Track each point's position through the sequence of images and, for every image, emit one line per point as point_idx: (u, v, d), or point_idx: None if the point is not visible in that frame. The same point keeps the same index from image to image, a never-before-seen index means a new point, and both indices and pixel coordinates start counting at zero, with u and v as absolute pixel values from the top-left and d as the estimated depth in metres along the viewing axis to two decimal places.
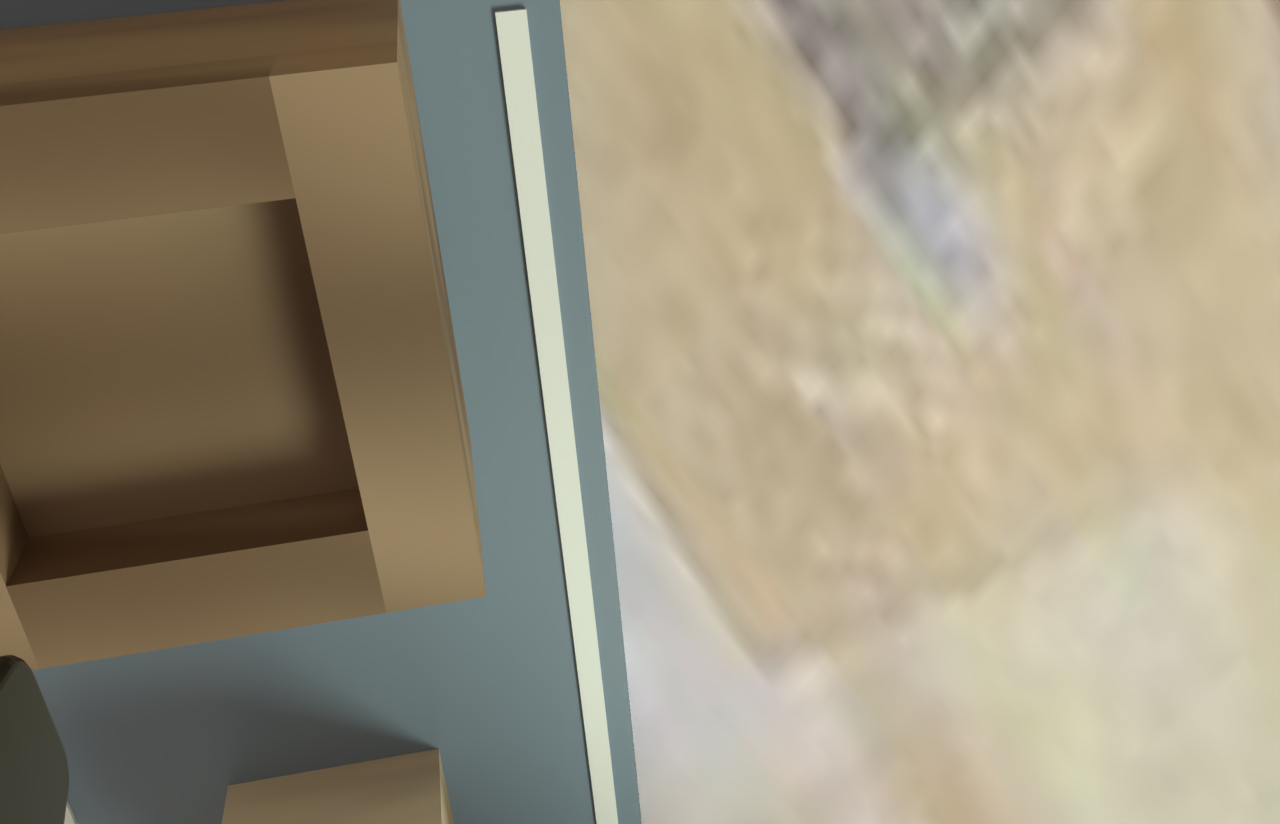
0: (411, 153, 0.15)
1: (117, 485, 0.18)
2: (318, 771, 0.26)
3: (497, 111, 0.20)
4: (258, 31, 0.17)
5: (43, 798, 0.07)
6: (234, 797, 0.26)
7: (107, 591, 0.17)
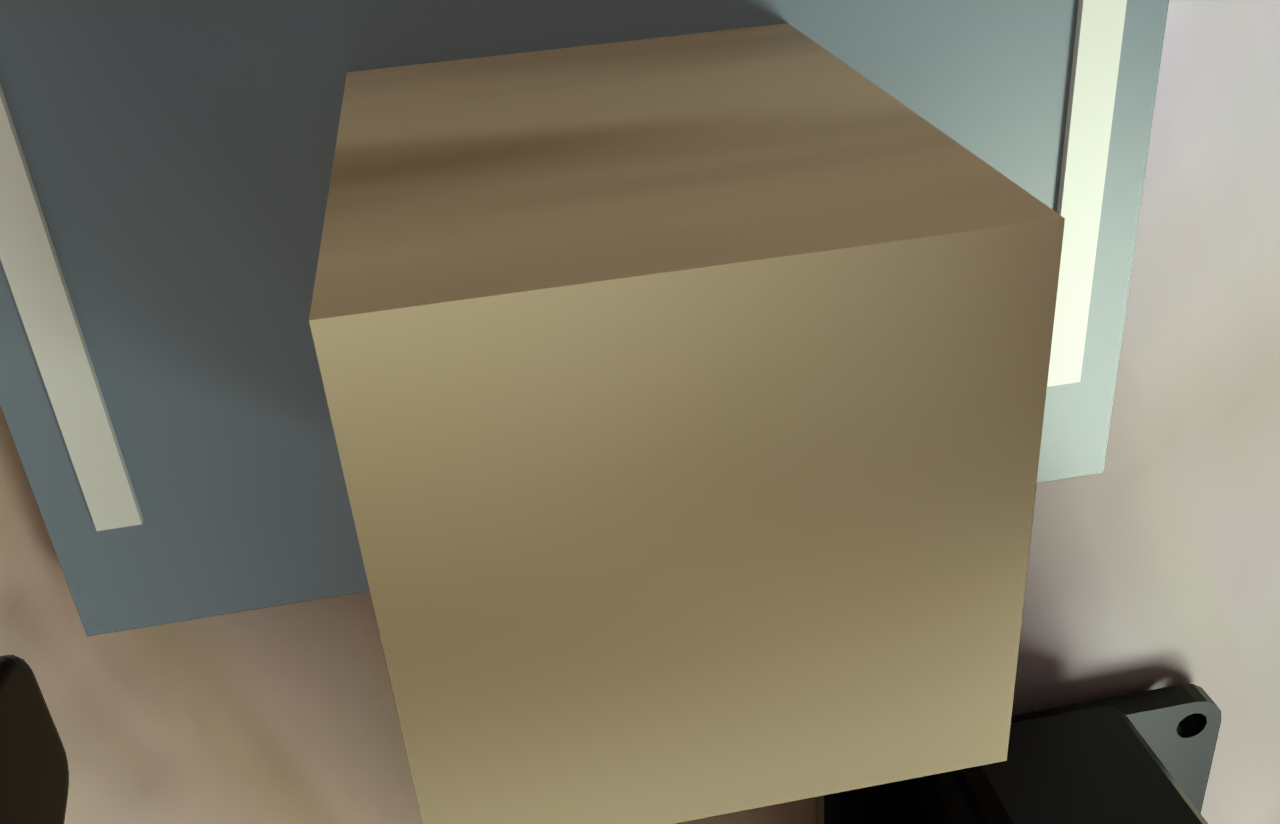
0: None
1: None
2: (539, 52, 0.12)
3: None
4: None
5: (43, 798, 0.07)
6: (364, 79, 0.12)
7: None
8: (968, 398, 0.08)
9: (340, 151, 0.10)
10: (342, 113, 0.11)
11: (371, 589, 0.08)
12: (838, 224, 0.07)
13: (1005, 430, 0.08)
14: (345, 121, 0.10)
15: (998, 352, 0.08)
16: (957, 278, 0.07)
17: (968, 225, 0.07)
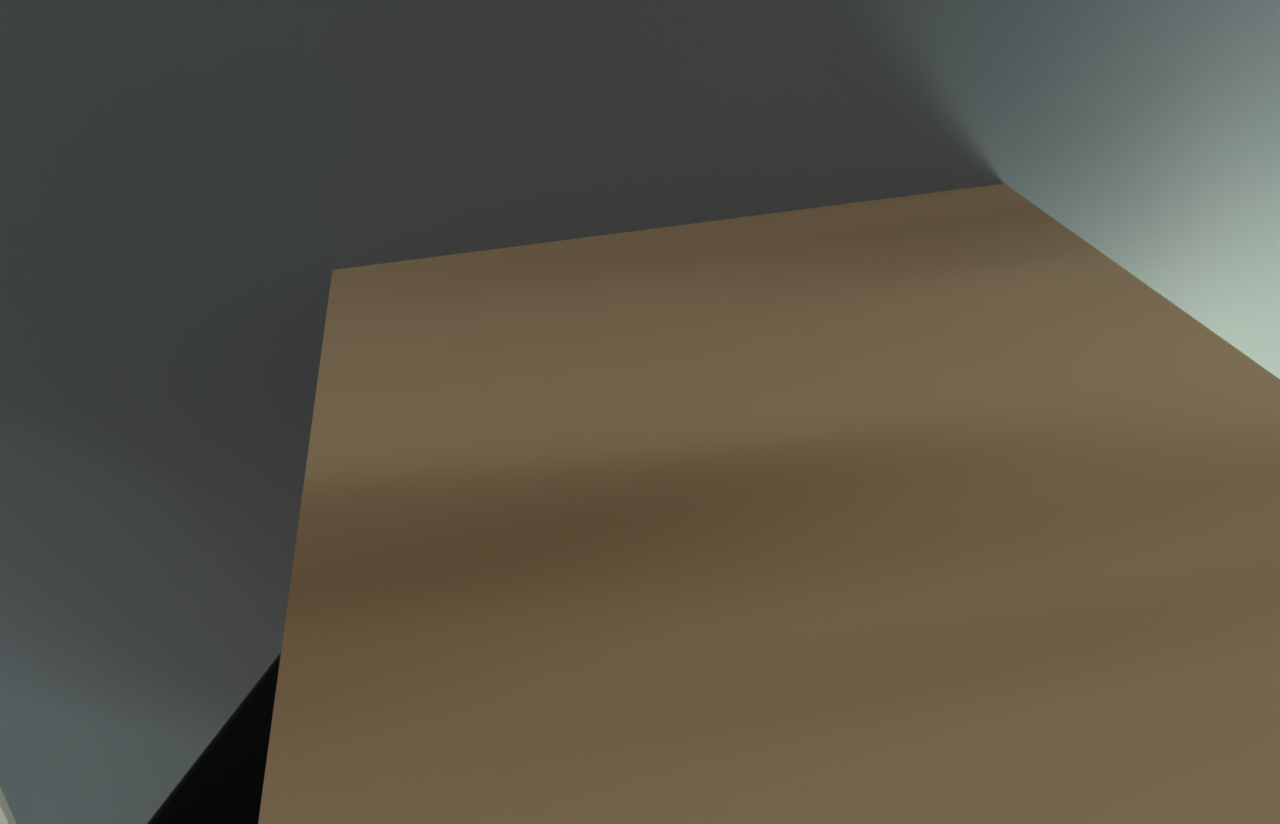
0: None
1: None
2: (629, 235, 0.08)
3: None
4: None
5: None
6: (359, 290, 0.07)
7: None
8: None
9: (311, 498, 0.05)
10: (320, 380, 0.06)
11: None
12: None
13: None
14: (324, 403, 0.06)
15: None
16: None
17: None
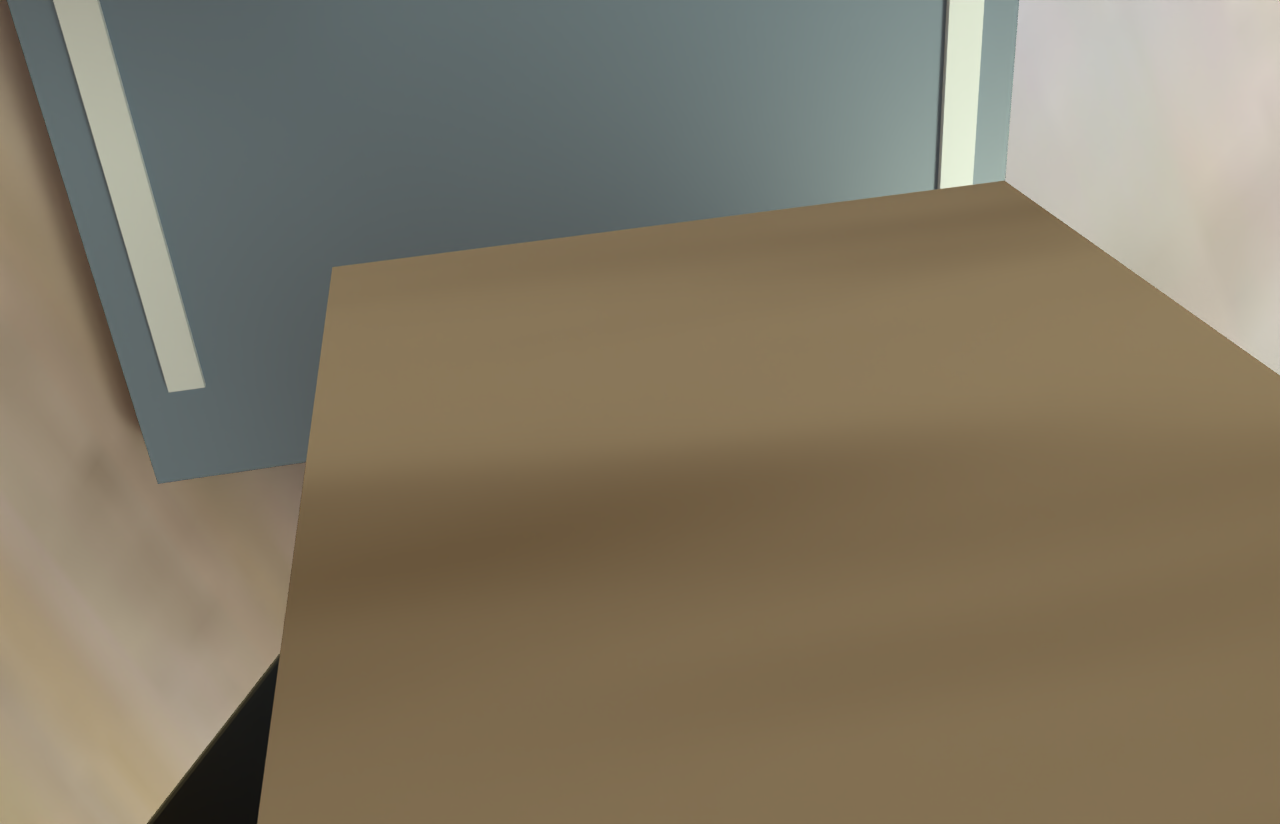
0: None
1: None
2: (629, 232, 0.08)
3: None
4: None
5: None
6: (359, 286, 0.07)
7: None
8: None
9: (312, 494, 0.05)
10: (320, 376, 0.06)
11: None
12: None
13: None
14: (325, 399, 0.06)
15: None
16: None
17: None
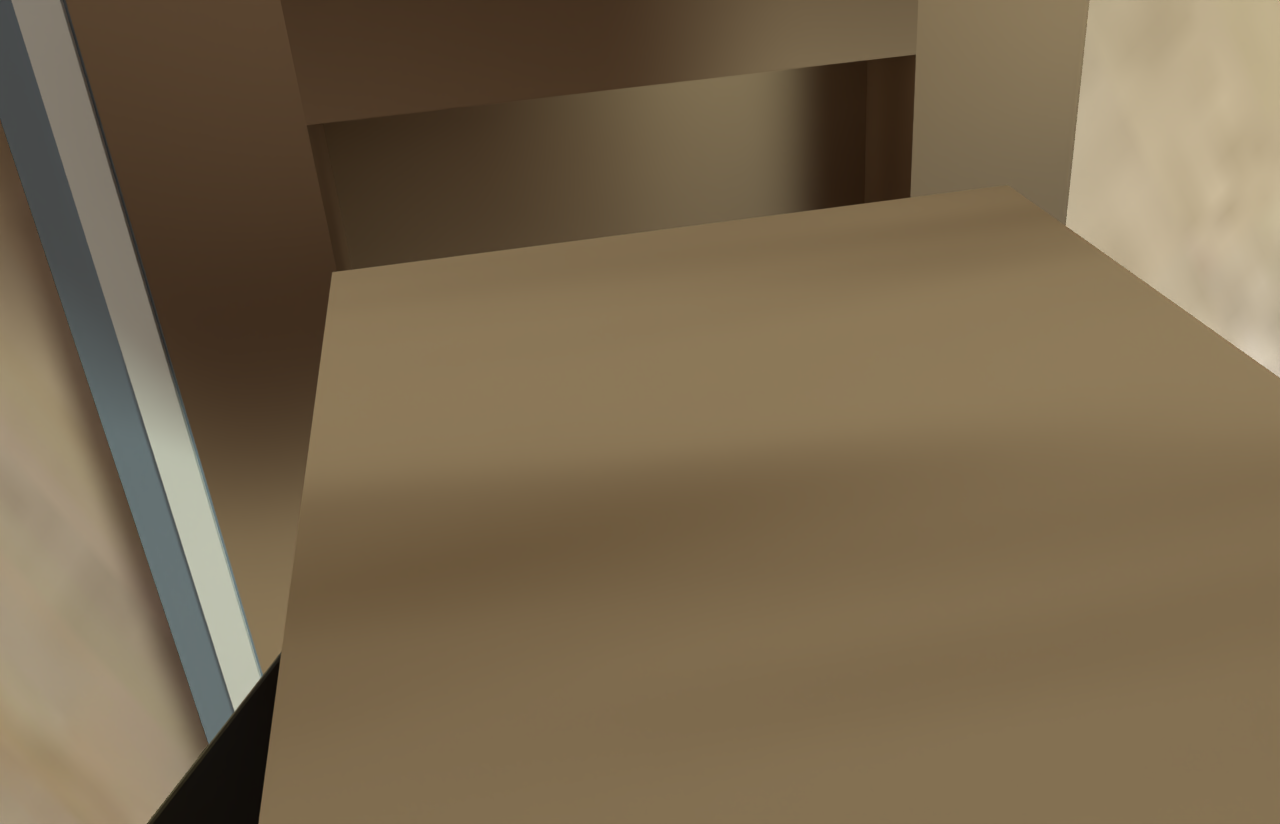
0: None
1: None
2: (631, 237, 0.08)
3: None
4: None
5: None
6: (359, 291, 0.07)
7: None
8: None
9: (311, 503, 0.05)
10: (320, 383, 0.06)
11: None
12: None
13: None
14: (324, 406, 0.06)
15: None
16: None
17: None
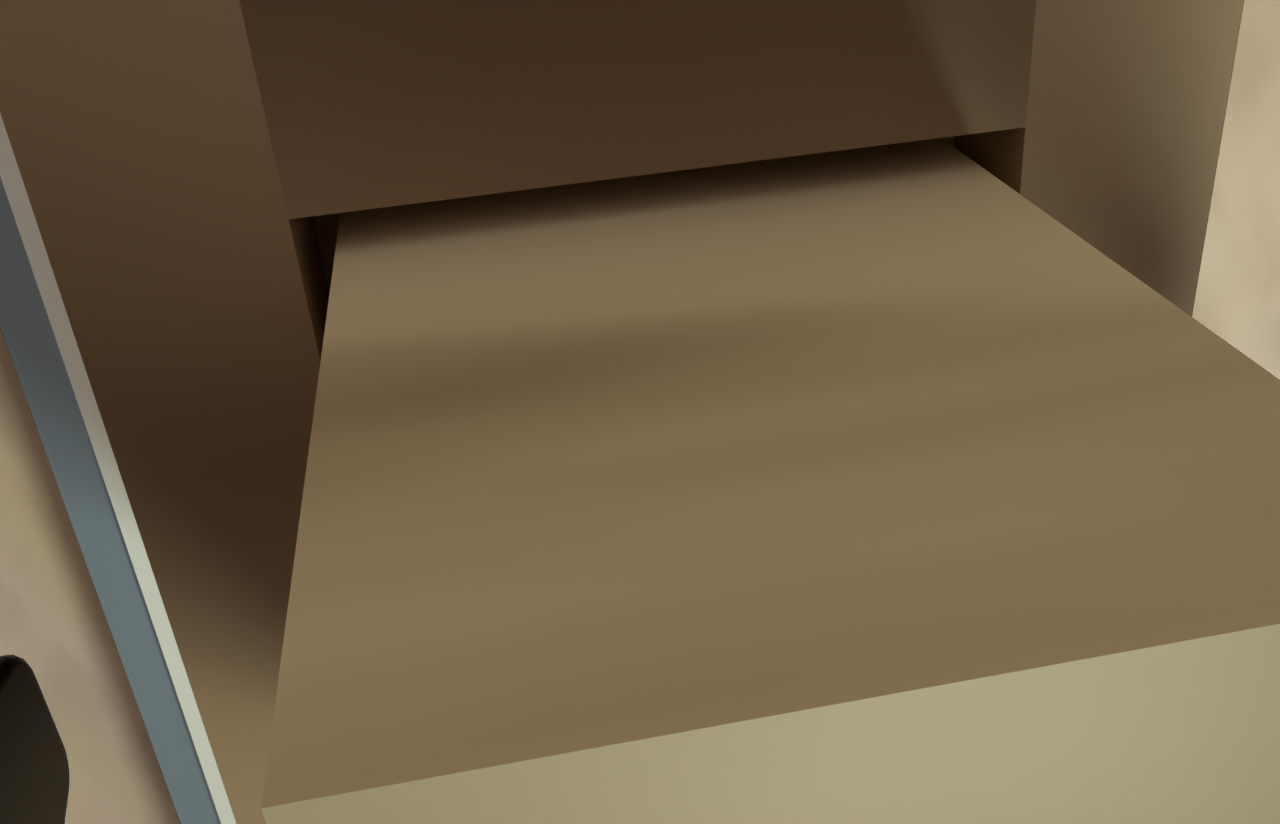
0: (1231, 47, 0.08)
1: None
2: None
3: None
4: None
5: (43, 798, 0.07)
6: (365, 212, 0.09)
7: None
8: None
9: (329, 356, 0.07)
10: (334, 277, 0.08)
11: None
12: (1152, 571, 0.04)
13: None
14: (338, 292, 0.07)
15: None
16: None
17: None
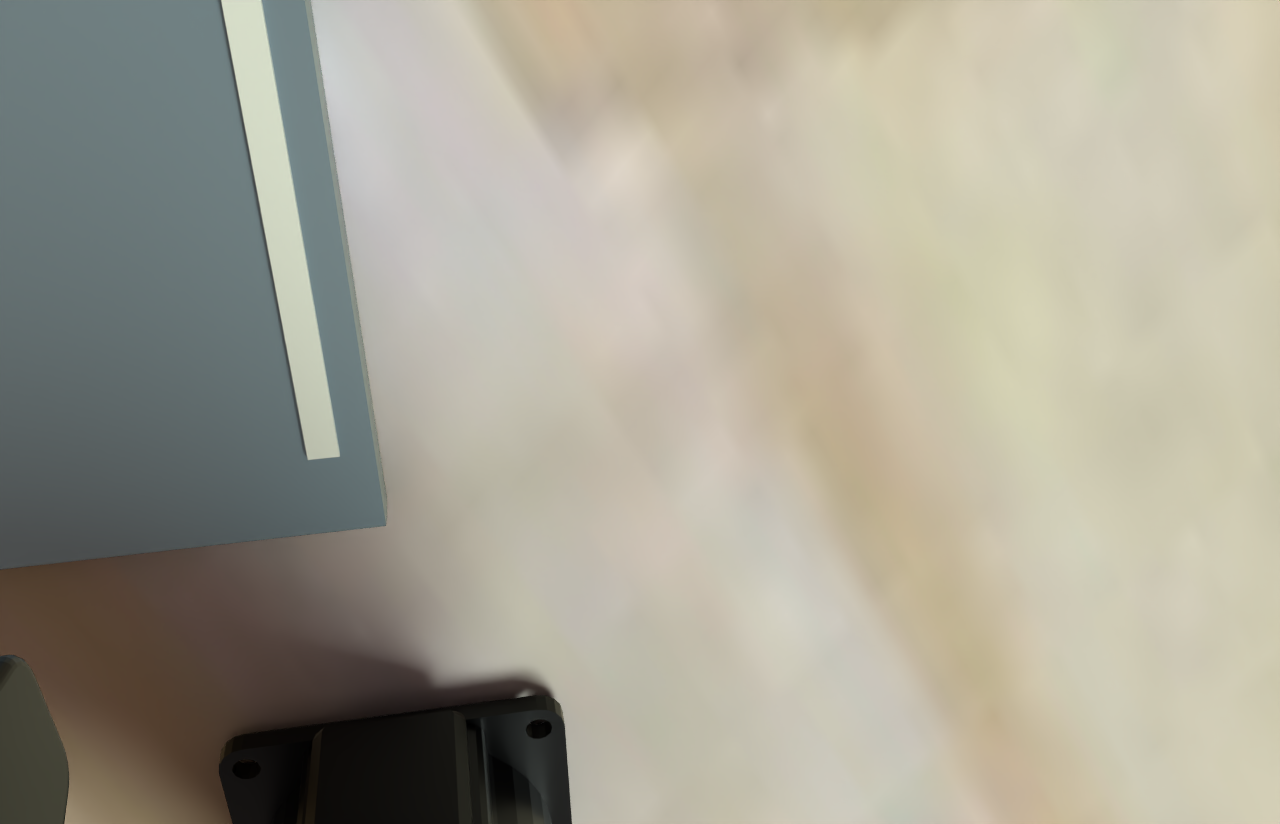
0: None
1: None
2: None
3: None
4: None
5: (43, 798, 0.07)
6: None
7: None
8: None
9: None
10: None
11: None
12: None
13: None
14: None
15: None
16: None
17: None
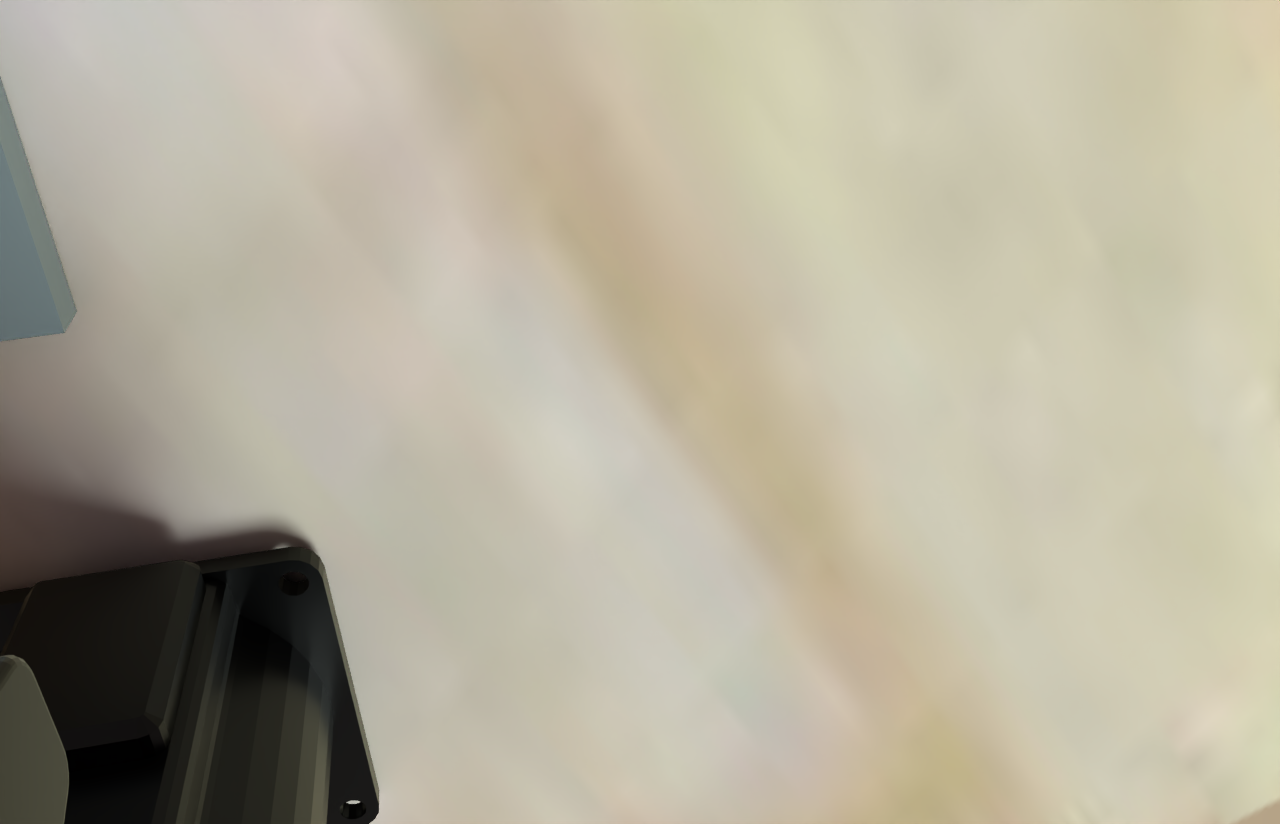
0: None
1: None
2: None
3: None
4: None
5: (43, 798, 0.07)
6: None
7: None
8: None
9: None
10: None
11: None
12: None
13: None
14: None
15: None
16: None
17: None
